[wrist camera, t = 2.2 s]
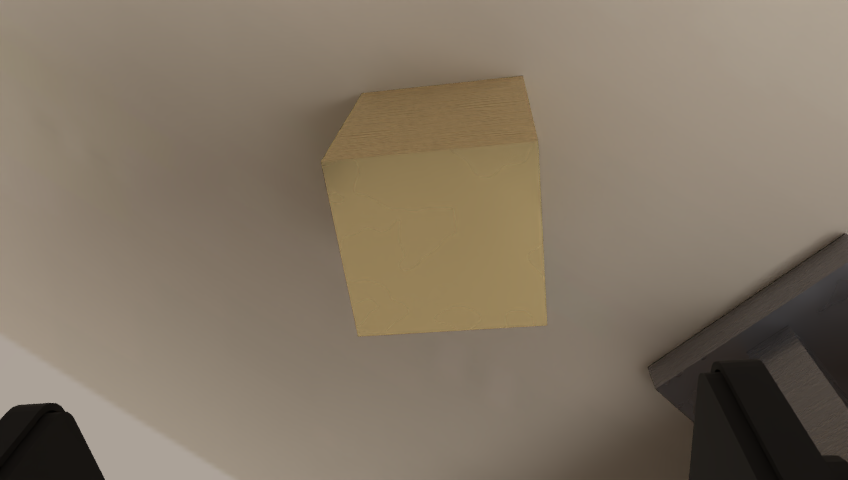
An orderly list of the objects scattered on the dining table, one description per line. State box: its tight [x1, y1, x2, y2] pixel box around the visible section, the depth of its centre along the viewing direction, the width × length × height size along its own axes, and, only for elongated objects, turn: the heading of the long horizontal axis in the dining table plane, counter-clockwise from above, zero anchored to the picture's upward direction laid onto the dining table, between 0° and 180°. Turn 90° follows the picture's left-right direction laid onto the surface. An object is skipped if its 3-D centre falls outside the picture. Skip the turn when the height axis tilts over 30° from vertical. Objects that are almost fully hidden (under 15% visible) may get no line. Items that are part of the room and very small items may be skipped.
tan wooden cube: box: [321, 76, 547, 337], centre depth 19 cm, size 5×5×6 cm
